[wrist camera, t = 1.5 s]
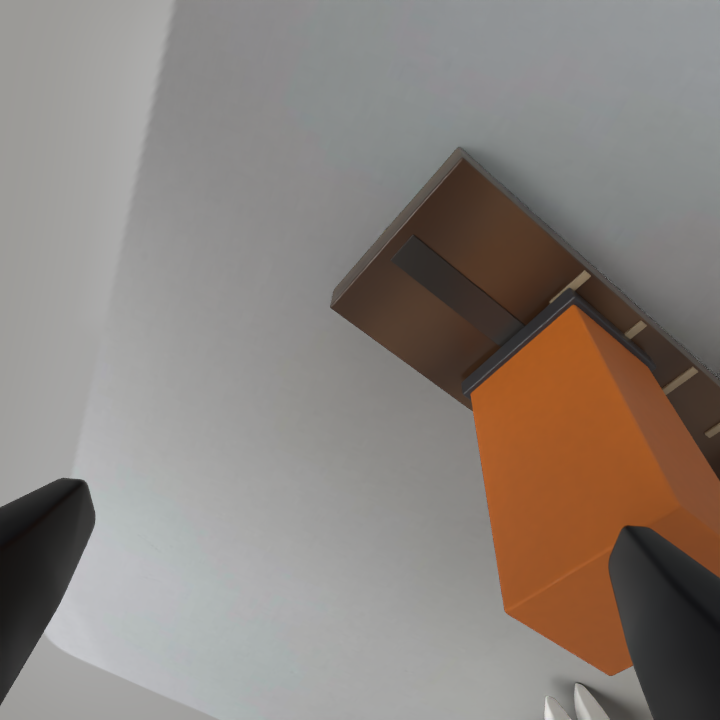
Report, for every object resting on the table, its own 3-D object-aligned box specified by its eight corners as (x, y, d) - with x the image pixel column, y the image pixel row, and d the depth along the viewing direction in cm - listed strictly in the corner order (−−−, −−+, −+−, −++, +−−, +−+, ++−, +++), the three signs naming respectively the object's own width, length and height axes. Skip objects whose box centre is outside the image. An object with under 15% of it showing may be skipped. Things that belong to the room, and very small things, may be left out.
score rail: (332, 289, 23) (319, 350, 19) (458, 145, 20) (471, 183, 16) (659, 531, 29) (697, 614, 25) (796, 449, 26) (864, 529, 22)
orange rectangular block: (460, 382, 23) (491, 613, 15) (569, 285, 21) (682, 495, 12) (539, 441, 24) (609, 684, 16) (650, 356, 22) (803, 590, 14)
